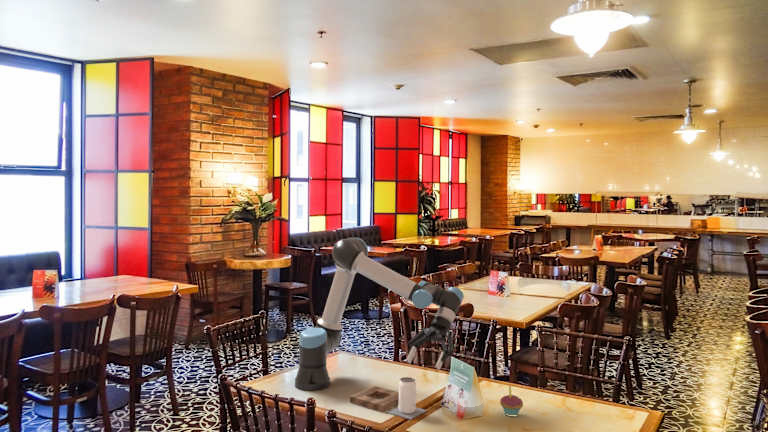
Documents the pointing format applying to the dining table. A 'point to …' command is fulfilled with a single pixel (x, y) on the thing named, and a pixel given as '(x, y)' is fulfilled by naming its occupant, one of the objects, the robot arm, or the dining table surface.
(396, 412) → the mat
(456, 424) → the dining table surface
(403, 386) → the can
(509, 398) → the cupcake
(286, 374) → the dining table surface
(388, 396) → the holder
